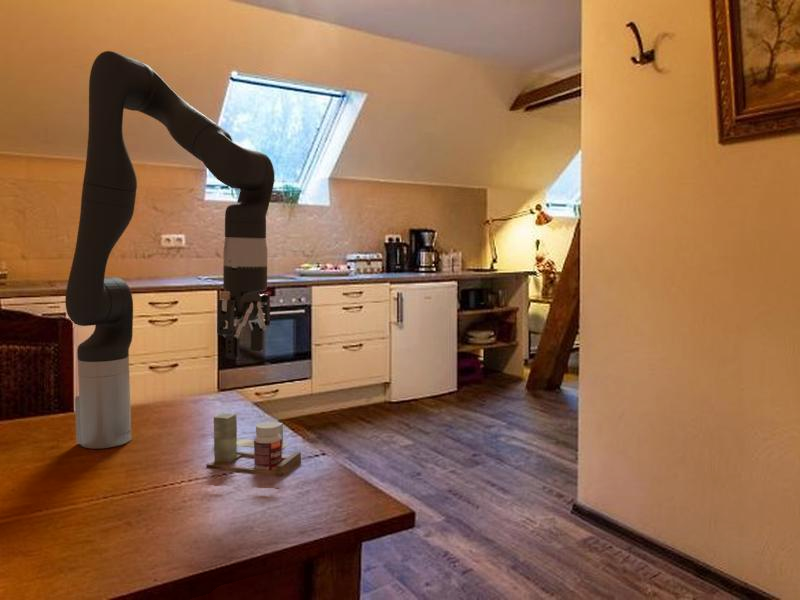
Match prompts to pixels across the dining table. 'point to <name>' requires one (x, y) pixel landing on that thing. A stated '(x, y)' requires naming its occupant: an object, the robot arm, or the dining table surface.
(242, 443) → the birch slat
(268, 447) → the pill bottle
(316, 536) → the dining table surface
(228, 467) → the open wooden frame
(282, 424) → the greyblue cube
